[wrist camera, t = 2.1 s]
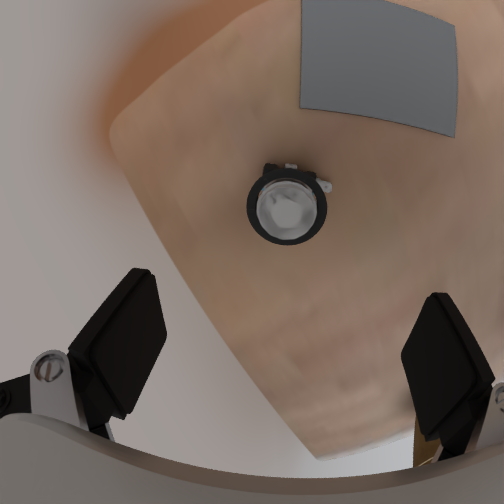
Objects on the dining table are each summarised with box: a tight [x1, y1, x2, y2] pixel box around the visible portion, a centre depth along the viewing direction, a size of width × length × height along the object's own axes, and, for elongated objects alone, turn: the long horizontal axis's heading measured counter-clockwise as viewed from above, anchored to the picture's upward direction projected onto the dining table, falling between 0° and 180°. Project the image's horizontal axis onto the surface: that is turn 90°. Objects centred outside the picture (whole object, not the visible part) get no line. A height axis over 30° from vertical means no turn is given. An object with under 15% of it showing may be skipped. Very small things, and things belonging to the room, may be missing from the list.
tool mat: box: [300, 0, 458, 138], centre depth 18 cm, size 16×13×1 cm
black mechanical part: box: [247, 163, 332, 245], centre depth 22 cm, size 7×5×10 cm
